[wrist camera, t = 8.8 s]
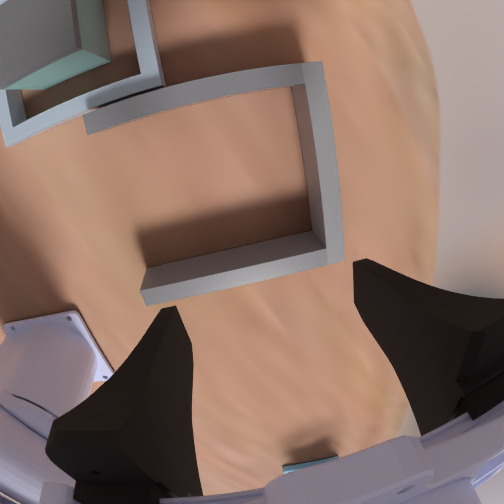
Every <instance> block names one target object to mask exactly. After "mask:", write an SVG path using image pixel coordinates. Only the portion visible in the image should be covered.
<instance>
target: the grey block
mask: <svg viewBox="0 0 504 504" xmlns="http://www.w3.org/2000/svg"><path fill="white" fill-rule="evenodd" d="M110 62H112V59H111V53H110V48H109V42H108V36H107V30H106V23H105V16H104V9H103V2H102V0H7V1H6V2H4V3H2V4H1V5H0V90H8V89H37V90H46V89H48V88H50V87H52V86H54V85H57V84H59V83H61V82H63V81H65V80H68V79H70V78H72V77H75V76H77V75H79V74H82V73H84V72H87V71H89V70H92V69H94V68H97V67H99V66H102V65H105V64H108V63H110Z"/></svg>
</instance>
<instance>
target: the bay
mask: <svg viewBox="0 0 504 504" xmlns="http://www.w3.org/2000/svg"><path fill="white" fill-rule="evenodd" d="M284 87H291V89H292V94H293V100H294V105H295V111H296V117H297V123H298V129H299V136H300V142H301V149H302V155H303V162H304V169H305V176H306V184H307V191H308V199H309V207H310V215H311V224H312V231H308V232H303V233H299V234H294V235H290V236H285V237H281V238H276V239H272V240H268V241H263V242H259V243H254V244H250V245H245V246H241V247H237V248H232V249H228V250H223V251H219V252H215V253H210V254H206V255H202V256H197V257H193V258H189V259H184V260H180V261H176V262H171V263H167V264H163V265H158V266H154V267H150V268H147V269H146V273H145V276H144V279H143V282H142V285H141V289H140V292H141V295H142V297H143V299H144V302H145V304H146V306H149V305H153V304H158V303H163V302H168V301H173V300H177V299H182V298H187V297H191V296H196V295H201V294H205V293H210V292H214V291H219V290H223V289H228V288H232V287H237V286H241V285H246V284H250V283H254V282H259V281H263V280H267V279H272V278H276V277H280V276H284V275H289V274H293V273H297V272H301V271H305V270H309V269H313V268H317V267H322V266H326V265H330V264H334V263H338V262H342V261H345V252H344V235H343V220H342V207H341V195H340V184H339V174H338V165H337V156H336V148H335V140H334V132H333V125H332V118H331V111H330V104H329V98H328V92H327V86H326V80H325V74H324V69H323V63H322V61H319V62H306V63H295V64H286V65H277V66H270V67H262V68H255V69H249V70H243V71H237V72H231V73H226V74H221V75H216V76H211V77H206V78H202V79H197V80H193V81H189V82H185V83H181V84H177V85H173V86H169V87H165V88H162V89H158V90H154V91H151V92H148V93H144V94H141V95H138V96H135V97H131V98H128V99H125V100H122V101H119V102H116V103H113V104H111V105H108V106H105V107H102V108H99V109H97V110H94V111H91V112H89V113H86V114H84V115H83V119H84V123H85V127H86V131H87V135H90V134H93V133H97V132H101V131H104V130H107V129H110V128H113V127H116V126H119V125H122V124H125V123H128V122H131V121H134V120H138V119H141V118H144V117H148V116H151V115H154V114H158V113H162V112H165V111H169V110H173V109H177V108H180V107H184V106H188V105H193V104H197V103H201V102H206V101H210V100H215V99H220V98H224V97H229V96H235V95H240V94H246V93H251V92H257V91H264V90H270V89H277V88H284Z"/></svg>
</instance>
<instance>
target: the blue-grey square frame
mask: <svg viewBox="0 0 504 504" xmlns="http://www.w3.org/2000/svg"><path fill="white" fill-rule="evenodd" d="M6 1H7V0H0V5H1V4H2V3H4V2H6ZM127 1H128V7H129V13H130V19H131V25H132V30H133V36H134V41H135V47H136V52H137V57H138V62H139V67H140V72H141V74H139V75H135V76H132V77H129V78H126V79H123V80H120V81H117V82H114V83H112V84H109V85H106V86H103V87H101V88H98V89H95V90H93V91H90V92H88V93H85V94H83V95H80V96H78V97H75V98H73V99H71V100H68V101H66V102H64V103H62V104H59V105H57V106H55V107H53V108H51V109H48V110H46V111H44V112H42V113H40V114H38V115H36V116H34V117H32V118H30V119H28V120H27V119H26V114H25V109H24V104H23V99H22V94H21V89H8V90H0V126H1V130H2V135H3V139H4V143H5V147H9V146H13V145H16V144H19V143H22V142H24V141H26V140H28V139H30V138H32V137H34V136H36V135H38V134H40V133H42V132H44V131H46V130H49V129H51V128H53V127H55V126H58V125H60V124H62V123H65V122H67V121H69V120H72V119H74V118H76V117H79V116H81V115H84V114H86V113H89V112H91V111H94V110H97V109H99V108H102V107H105V106H108V105H111V104H113V103H116V102H119V101H122V100H125V99H128V98H131V97H135V96H138V95H141V94H144V93H148V92H151V91H154V90H158V89H162V88H165V87H166V83H165V79H164V74H163V69H162V64H161V59H160V54H159V49H158V44H157V39H156V34H155V29H154V24H153V18H152V13H151V7H150V2H149V0H127Z"/></svg>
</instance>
